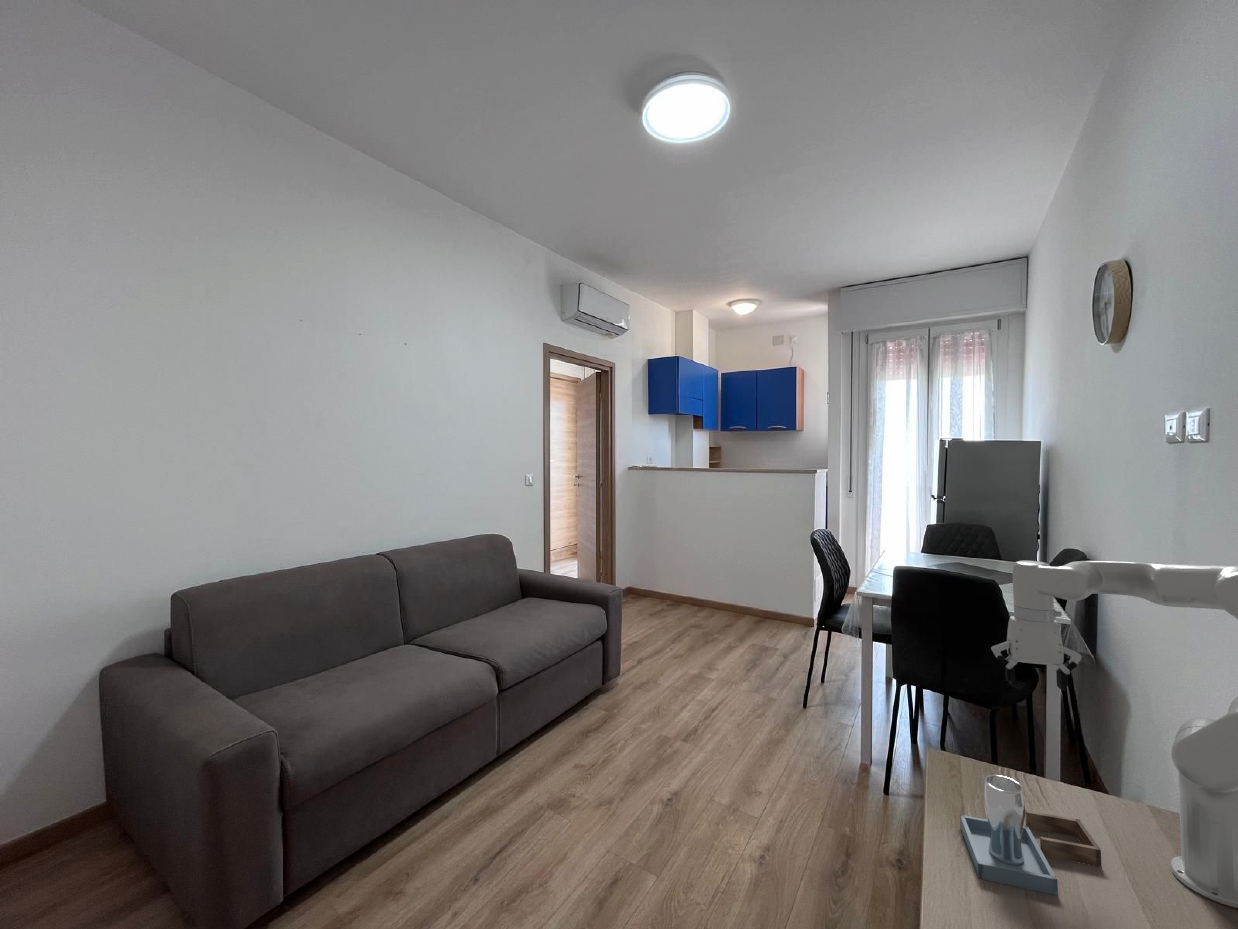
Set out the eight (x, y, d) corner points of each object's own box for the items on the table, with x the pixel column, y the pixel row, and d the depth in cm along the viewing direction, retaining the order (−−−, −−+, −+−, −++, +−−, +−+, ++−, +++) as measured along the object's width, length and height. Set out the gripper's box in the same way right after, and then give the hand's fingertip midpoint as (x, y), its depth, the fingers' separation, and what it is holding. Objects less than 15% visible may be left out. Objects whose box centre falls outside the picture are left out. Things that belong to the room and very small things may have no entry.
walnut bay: (1080, 835, 119) (1079, 819, 119) (1101, 867, 109) (1100, 850, 109) (1025, 825, 122) (1025, 810, 122) (1042, 855, 113) (1041, 839, 113)
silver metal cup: (988, 860, 111) (986, 788, 111) (983, 839, 117) (981, 771, 117) (1030, 871, 108) (1027, 797, 108) (1023, 849, 114) (1020, 778, 114)
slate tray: (1028, 840, 118) (1028, 827, 118) (1057, 895, 103) (1057, 879, 103) (960, 827, 122) (959, 814, 122) (978, 878, 107) (978, 863, 107)
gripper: (1072, 612, 126) (1074, 684, 126) (986, 607, 133) (988, 676, 133) (1086, 621, 120) (1089, 697, 119) (994, 615, 126) (997, 688, 126)
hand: (1036, 686), depth 126 cm, fingers open, 9 cm apart
